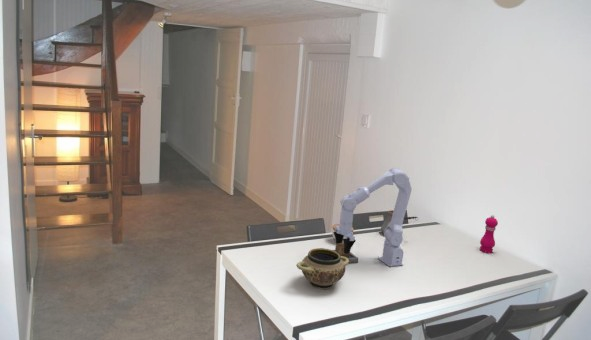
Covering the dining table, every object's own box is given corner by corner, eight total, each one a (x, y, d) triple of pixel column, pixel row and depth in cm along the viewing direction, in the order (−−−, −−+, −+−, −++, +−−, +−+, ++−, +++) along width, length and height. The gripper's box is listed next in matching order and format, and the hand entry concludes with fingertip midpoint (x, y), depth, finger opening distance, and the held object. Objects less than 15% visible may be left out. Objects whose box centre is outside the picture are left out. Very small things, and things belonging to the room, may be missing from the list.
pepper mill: (490, 249, 244) (497, 213, 239) (495, 254, 237) (502, 217, 232) (477, 247, 244) (483, 212, 240) (481, 252, 237) (487, 216, 233)
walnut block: (349, 259, 210) (350, 246, 209) (339, 259, 208) (341, 247, 207) (343, 254, 215) (345, 242, 214) (334, 255, 213) (335, 243, 212)
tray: (357, 262, 209) (358, 258, 209) (336, 264, 205) (337, 260, 204) (345, 253, 219) (346, 248, 218) (325, 255, 214) (326, 250, 214)
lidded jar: (352, 246, 229) (355, 228, 227) (331, 244, 229) (333, 226, 227) (350, 238, 239) (352, 221, 237) (330, 236, 239) (332, 219, 237)
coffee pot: (375, 232, 253) (379, 206, 249) (389, 229, 260) (392, 204, 257) (406, 246, 237) (410, 218, 233) (420, 242, 244) (424, 215, 241)
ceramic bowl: (337, 279, 197) (335, 244, 197) (362, 287, 181) (360, 249, 181) (286, 287, 185) (285, 250, 185) (308, 297, 169) (307, 256, 169)
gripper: (330, 217, 213) (327, 244, 216) (346, 228, 200) (342, 256, 203) (344, 216, 216) (340, 243, 219) (360, 227, 203) (356, 255, 206)
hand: (342, 250), depth 211 cm, fingers open, 7 cm apart
